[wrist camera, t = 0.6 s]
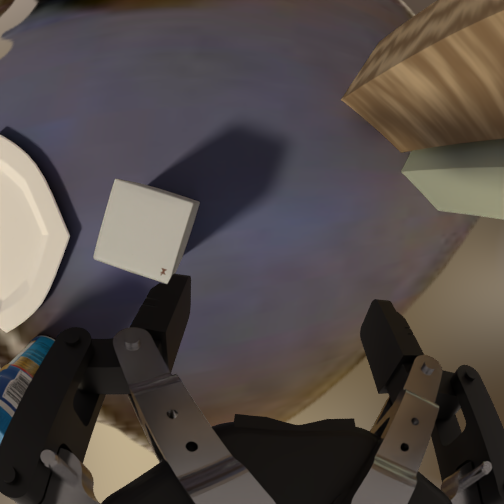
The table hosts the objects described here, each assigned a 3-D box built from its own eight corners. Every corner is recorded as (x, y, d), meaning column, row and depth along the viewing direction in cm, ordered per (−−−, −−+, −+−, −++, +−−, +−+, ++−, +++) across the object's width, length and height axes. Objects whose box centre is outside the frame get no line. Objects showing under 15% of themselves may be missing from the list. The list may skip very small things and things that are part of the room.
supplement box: (201, 201, 35) (198, 203, 23) (182, 258, 36) (170, 288, 24) (145, 182, 33) (114, 175, 21) (128, 239, 34) (91, 260, 22)
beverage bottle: (81, 379, 37) (33, 467, 17) (42, 378, 36) (-10, 453, 16) (62, 332, 35) (-7, 411, 16) (24, 333, 34) (-46, 400, 15)
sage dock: (437, 210, 40) (547, 227, 19) (401, 171, 38) (521, 167, 17) (471, 126, 39) (560, 115, 18) (439, 88, 37) (532, 59, 15)
